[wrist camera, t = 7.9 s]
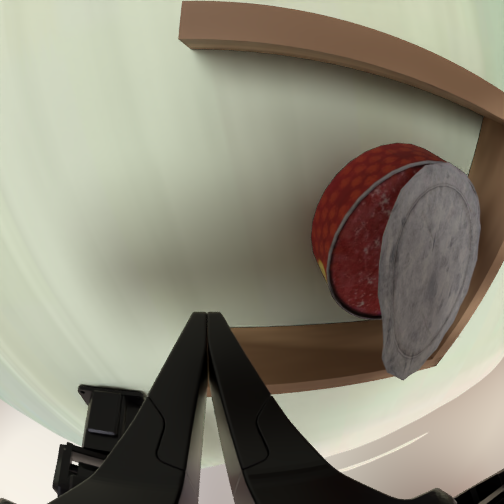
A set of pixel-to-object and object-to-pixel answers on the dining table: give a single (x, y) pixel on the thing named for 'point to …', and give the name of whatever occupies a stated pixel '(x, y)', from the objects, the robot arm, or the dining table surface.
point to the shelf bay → (389, 66)
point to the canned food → (399, 246)
